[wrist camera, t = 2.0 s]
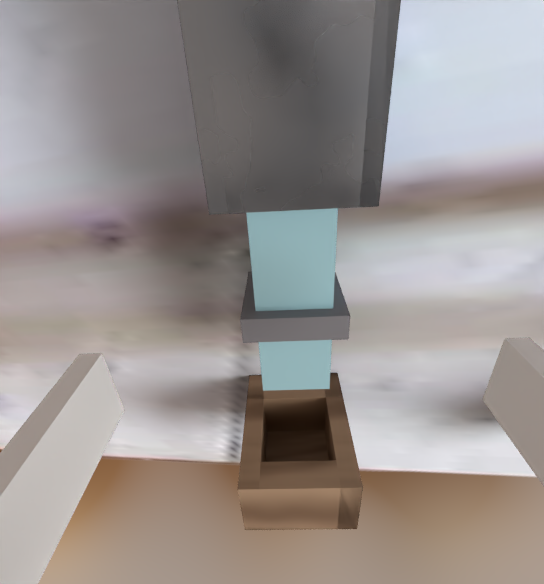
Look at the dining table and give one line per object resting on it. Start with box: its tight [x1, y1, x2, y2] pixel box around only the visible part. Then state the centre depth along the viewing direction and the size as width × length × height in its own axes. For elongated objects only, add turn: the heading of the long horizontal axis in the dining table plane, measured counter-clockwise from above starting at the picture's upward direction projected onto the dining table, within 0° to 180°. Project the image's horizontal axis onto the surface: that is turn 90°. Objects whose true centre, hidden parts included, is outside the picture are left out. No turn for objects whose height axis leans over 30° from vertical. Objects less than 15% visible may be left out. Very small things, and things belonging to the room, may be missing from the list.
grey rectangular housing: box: [177, 0, 401, 215], centre depth 15 cm, size 16×10×10 cm, turn 3°
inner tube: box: [240, 208, 350, 391], centre depth 17 cm, size 26×6×6 cm, turn 3°
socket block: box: [238, 373, 363, 530], centre depth 29 cm, size 6×9×11 cm, turn 93°
